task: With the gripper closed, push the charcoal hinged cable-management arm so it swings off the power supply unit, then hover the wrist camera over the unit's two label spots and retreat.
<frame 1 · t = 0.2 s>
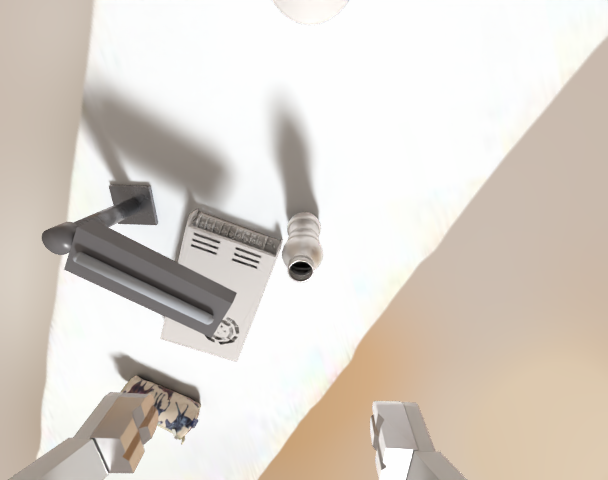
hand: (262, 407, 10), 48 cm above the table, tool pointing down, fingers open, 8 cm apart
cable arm: (139, 278, 43), point 19 cm above the table, hinge at 0.0°
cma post: (135, 204, 58), on the table
power supply unit: (222, 284, 66), on the table
pencil case: (167, 390, 80), on the table
plastic bottle: (304, 223, 58), on the table
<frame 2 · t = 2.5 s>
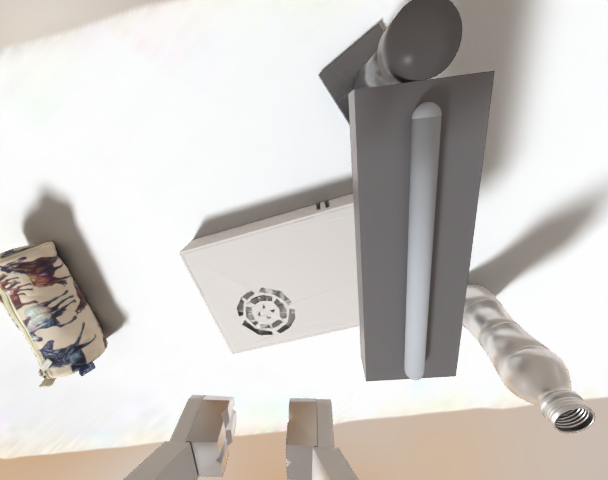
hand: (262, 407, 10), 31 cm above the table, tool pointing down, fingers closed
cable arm: (413, 234, 21), point 19 cm above the table, hinge at 0.0°
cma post: (365, 83, 33), on the table
power supply unit: (314, 263, 44), on the table
pencil case: (73, 292, 47), on the table
plastic bottle: (465, 296, 45), on the table
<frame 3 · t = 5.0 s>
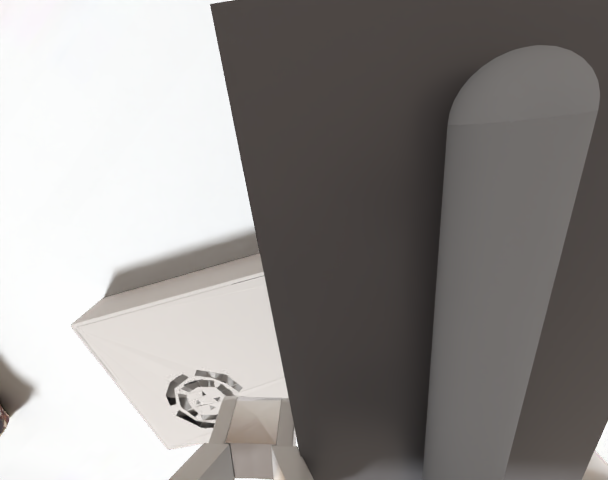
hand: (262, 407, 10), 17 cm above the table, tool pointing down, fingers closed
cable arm: (434, 413, 8), point 19 cm above the table, hinge at 0.1°, touching gripper
power supply unit: (278, 325, 31), on the table
plastic bottle: (491, 366, 32), on the table
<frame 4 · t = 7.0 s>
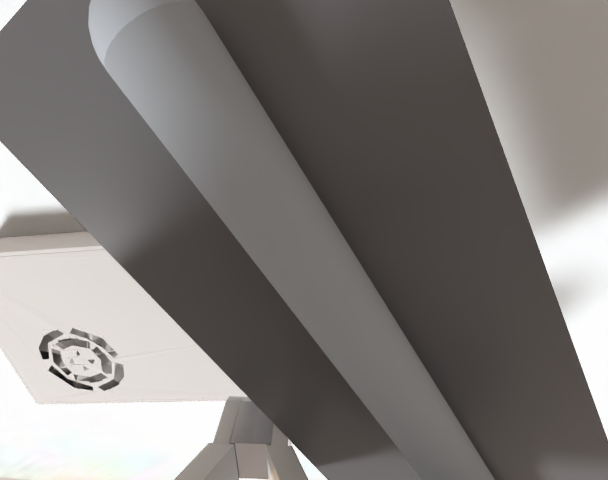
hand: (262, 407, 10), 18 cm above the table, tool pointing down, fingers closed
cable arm: (384, 344, 8), point 19 cm above the table, hinge at 38.6°, touching gripper
power supply unit: (174, 301, 32), on the table
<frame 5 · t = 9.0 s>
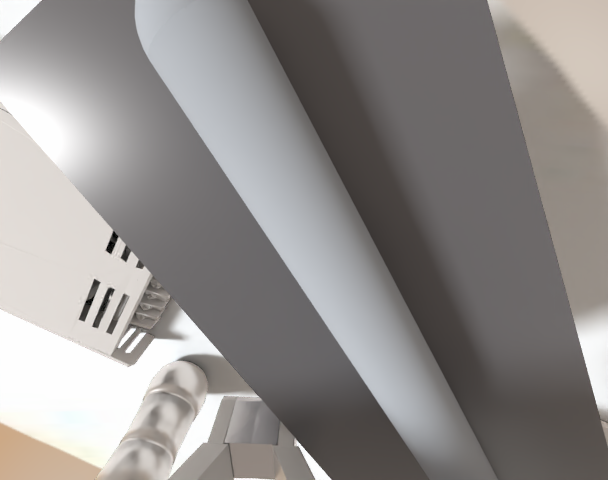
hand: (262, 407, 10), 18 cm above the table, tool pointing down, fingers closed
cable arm: (395, 344, 8), point 19 cm above the table, hinge at 74.5°, touching gripper
power supply unit: (34, 193, 27), on the table
plastic bottle: (188, 372, 35), on the table
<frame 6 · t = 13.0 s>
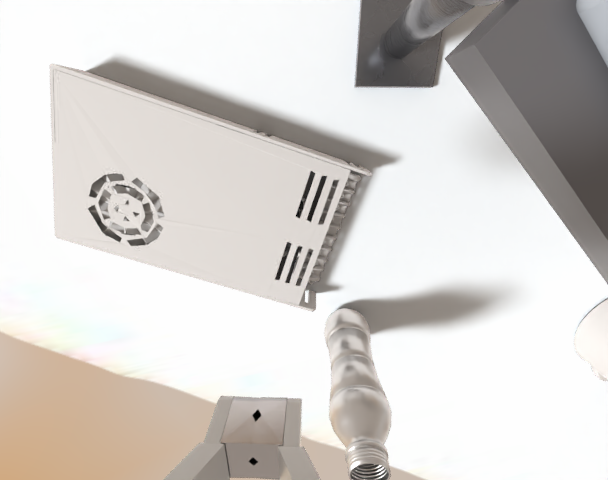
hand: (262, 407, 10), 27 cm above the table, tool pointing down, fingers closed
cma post: (397, 42, 28), on the table
power supply unit: (218, 196, 36), on the table
plastic bottle: (344, 319, 42), on the table
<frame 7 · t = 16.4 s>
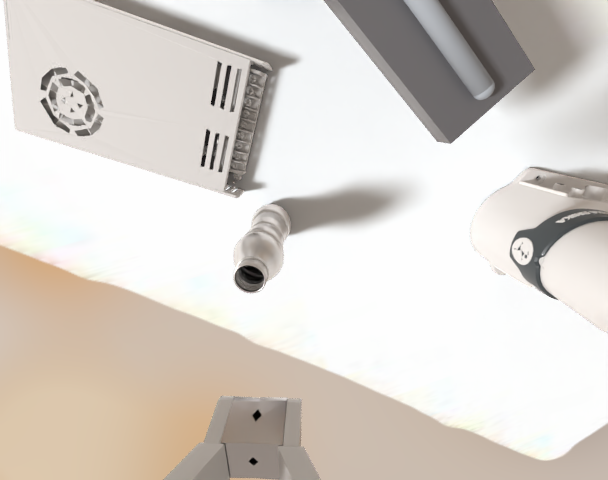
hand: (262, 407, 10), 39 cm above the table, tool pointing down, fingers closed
power supply unit: (154, 100, 43), on the table
plastic bottle: (273, 219, 49), on the table
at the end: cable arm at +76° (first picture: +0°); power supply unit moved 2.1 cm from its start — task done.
